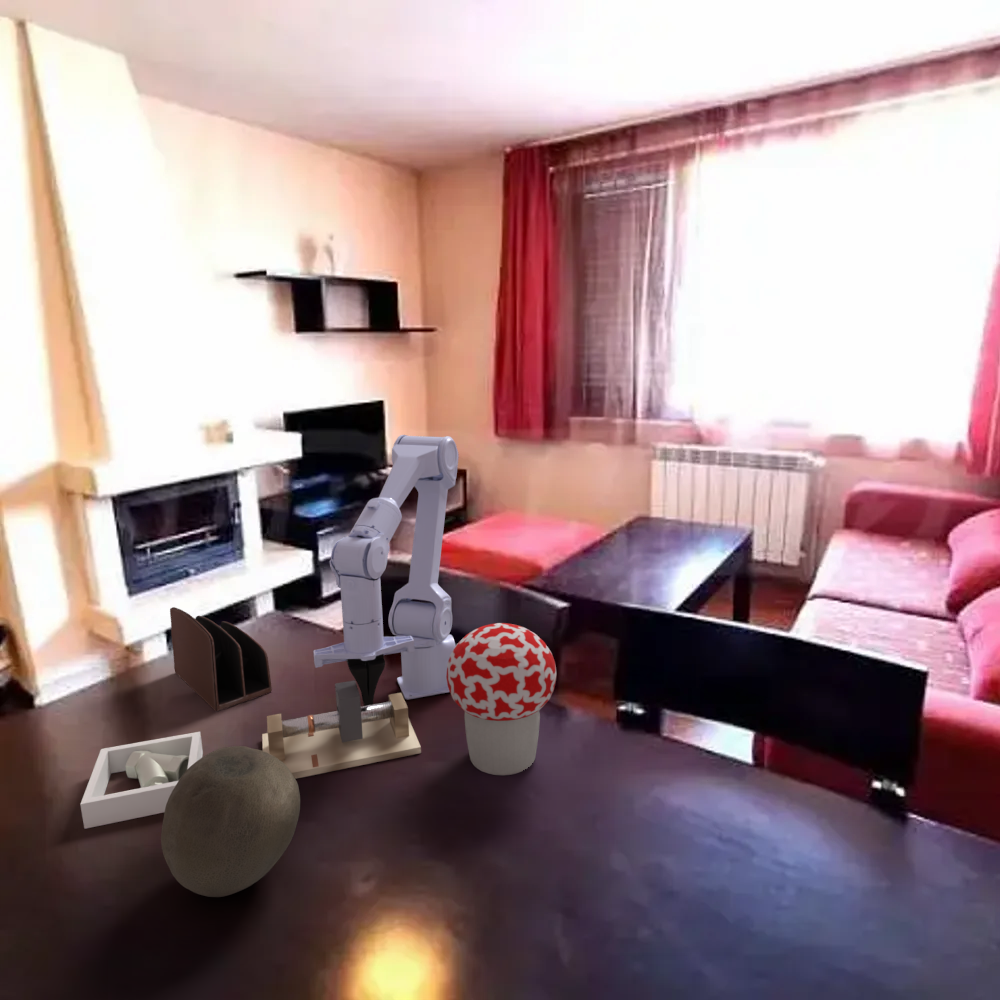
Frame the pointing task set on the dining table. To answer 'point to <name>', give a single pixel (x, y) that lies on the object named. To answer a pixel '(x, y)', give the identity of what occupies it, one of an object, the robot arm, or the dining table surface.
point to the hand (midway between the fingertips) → (367, 702)
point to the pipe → (333, 720)
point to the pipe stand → (343, 744)
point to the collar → (349, 711)
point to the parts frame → (134, 801)
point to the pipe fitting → (155, 767)
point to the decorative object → (501, 694)
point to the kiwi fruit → (229, 820)
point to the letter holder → (218, 660)
